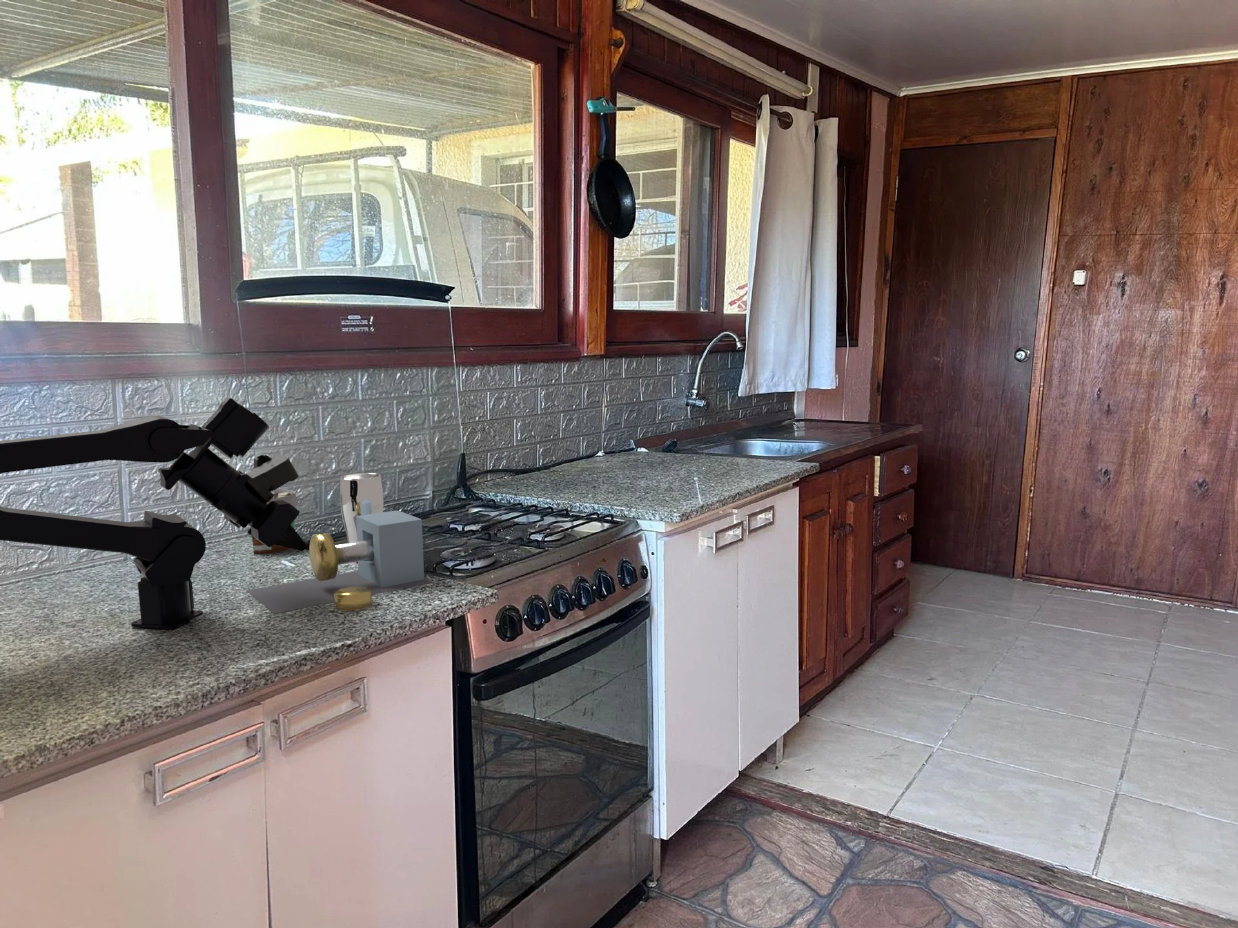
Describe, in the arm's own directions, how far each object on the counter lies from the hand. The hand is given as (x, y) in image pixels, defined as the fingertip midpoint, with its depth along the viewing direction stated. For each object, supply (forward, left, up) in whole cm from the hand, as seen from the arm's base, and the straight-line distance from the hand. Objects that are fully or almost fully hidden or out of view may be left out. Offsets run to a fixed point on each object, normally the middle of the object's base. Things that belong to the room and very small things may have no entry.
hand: (304, 548), depth 128 cm
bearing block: (+10, -9, -7) cm, 15 cm away
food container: (+26, +20, -7) cm, 34 cm away
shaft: (+7, -6, -5) cm, 11 cm away
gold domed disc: (-4, -10, -7) cm, 13 cm away
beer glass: (+19, 0, -7) cm, 20 cm away
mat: (+4, -3, -7) cm, 9 cm away
